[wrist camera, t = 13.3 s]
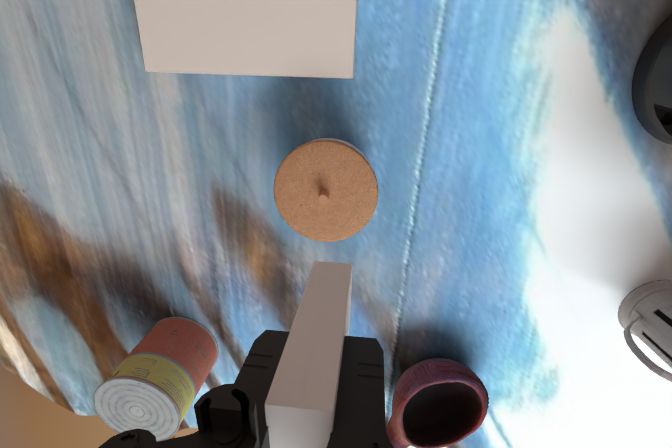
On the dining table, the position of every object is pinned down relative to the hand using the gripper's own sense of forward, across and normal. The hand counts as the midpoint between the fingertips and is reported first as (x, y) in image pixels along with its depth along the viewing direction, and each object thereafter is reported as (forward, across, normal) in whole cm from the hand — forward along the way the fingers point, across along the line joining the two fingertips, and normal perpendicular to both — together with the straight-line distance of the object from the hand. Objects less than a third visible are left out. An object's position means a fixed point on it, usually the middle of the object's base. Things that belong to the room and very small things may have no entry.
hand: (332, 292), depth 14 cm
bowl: (+29, +12, -35) cm, 47 cm away
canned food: (+29, -27, -31) cm, 50 cm away
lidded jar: (+29, -3, -2) cm, 29 cm away
